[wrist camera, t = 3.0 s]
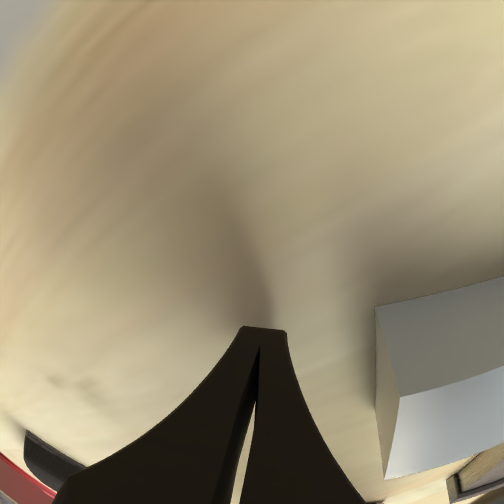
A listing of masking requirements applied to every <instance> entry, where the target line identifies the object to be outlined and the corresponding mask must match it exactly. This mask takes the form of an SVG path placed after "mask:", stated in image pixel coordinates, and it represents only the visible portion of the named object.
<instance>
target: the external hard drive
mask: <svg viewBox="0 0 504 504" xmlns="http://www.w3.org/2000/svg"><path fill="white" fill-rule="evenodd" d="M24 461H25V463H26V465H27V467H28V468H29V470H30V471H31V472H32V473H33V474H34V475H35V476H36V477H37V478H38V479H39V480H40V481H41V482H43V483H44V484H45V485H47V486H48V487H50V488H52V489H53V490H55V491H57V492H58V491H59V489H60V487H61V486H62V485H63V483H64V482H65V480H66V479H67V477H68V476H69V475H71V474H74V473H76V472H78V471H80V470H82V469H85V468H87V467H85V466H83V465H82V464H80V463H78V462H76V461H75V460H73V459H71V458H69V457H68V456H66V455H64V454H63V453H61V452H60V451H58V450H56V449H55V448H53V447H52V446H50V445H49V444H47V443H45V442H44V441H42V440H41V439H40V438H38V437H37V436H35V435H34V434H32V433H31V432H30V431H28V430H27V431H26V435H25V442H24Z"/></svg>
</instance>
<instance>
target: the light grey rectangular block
mask: <svg viewBox="0 0 504 504" xmlns="http://www.w3.org/2000/svg"><path fill="white" fill-rule="evenodd" d="M375 324H376V400H375V412H376V419H377V426H378V433H379V440H380V448H381V457H382V466H383V475H384V480H389V479H393V478H398V477H403V476H407V475H411V474H415V473H419V472H423V471H426V470H430V469H433V468H437V467H440V466H443V465H446V464H449V463H452V462H455V461H458V460H461V459H464V458H467V457H469V456H472V455H475V454H477V453H480V452H482V451H485V450H487V449H490V448H492V447H494V446H497V445H499V444H501V443H503V442H504V276H501V277H498V278H494V279H491V280H487V281H484V282H480V283H476V284H473V285H469V286H465V287H461V288H457V289H453V290H449V291H445V292H441V293H437V294H432V295H428V296H424V297H419V298H415V299H410V300H406V301H401V302H396V303H391V304H387V305H382V306H377V307H375Z"/></svg>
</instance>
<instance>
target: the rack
mask: <svg viewBox="0 0 504 504" xmlns="http://www.w3.org/2000/svg"><path fill="white" fill-rule="evenodd" d="M446 484H447V489H448V495H449V501H450V504H452V503H455V502H459V501H462V500H466V499H469V498H472V497H475V496H478V495H481V494H484V493H487V492H489V491H492V490H495V489H497V488H500V487H502V486H504V442H503V443H501V444H499V445H497V446H494V447H492V448H490V449H487V450H485V451H482V452H481V453H480V454H479V455H478V456H477V457H476V458H475V459H474V460H473V461H471V462H470V463H469V464H468V465H467V466H466V467H465V468H463V469H462V470H461V471H460V472H459V473H458V474H456V475H453V476H451V477H450V478H449V479H448V480H446Z"/></svg>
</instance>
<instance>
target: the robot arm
mask: <svg viewBox="0 0 504 504" xmlns="http://www.w3.org/2000/svg"><path fill="white" fill-rule="evenodd" d="M255 401H256V403H255ZM254 404H255V421H254V431H253V437H252V442H251V448H250V453H249V458H248V463H247V468H246V473H245V478H244V483H243V488H242V493H241V497H240V502H239V504H367V503H366V502H365V501H364V499H363V498H362V497H361V496H360V494H359V493H358V492H357V490H356V489H355V488H354V487H353V485H352V484H351V482H350V481H349V480H348V478H347V477H346V475H345V474H344V472H343V471H342V469H341V468H340V466H339V465H338V463H337V462H336V460H335V459H334V457H333V456H332V454H331V452H330V450H329V449H328V447H327V445H326V443H325V442H324V440H323V438H322V436H321V434H320V432H319V430H318V428H317V426H316V424H315V422H314V420H313V418H312V416H311V414H310V412H309V409H308V407H307V404H306V402H305V400H304V397H303V395H302V392H301V389H300V386H299V384H298V381H297V378H296V375H295V372H294V368H293V365H292V361H291V357H290V353H289V348H288V342H287V333H286V332H285V331H284V330H276V329H267V328H258V327H249V326H243V327H241V328H240V329H239V331H238V333H237V335H236V337H235V338H234V340H233V342H232V343H231V345H230V346H229V348H228V349H227V351H226V352H225V354H224V355H223V356H222V358H221V359H220V360H219V362H218V363H217V364H216V365H215V367H214V368H213V369H212V371H211V372H210V373H209V374H208V375H207V377H206V378H205V379H204V380H203V381H202V382H201V383H200V384H199V386H198V387H197V388H196V389H195V390H194V391H193V392H192V393H191V394H190V395H189V396H188V397H187V398H186V399H185V400H184V401H183V402H182V403H181V404H180V405H179V406H178V407H177V408H176V409H175V410H174V411H172V412H171V413H170V414H169V415H168V416H167V417H166V418H164V419H163V420H162V421H161V422H159V423H158V424H157V425H156V426H154V427H153V428H152V429H150V430H149V431H148V432H146V433H145V434H144V435H142V436H141V437H140V438H138V439H137V440H135V441H133V442H132V443H130V444H129V445H127V446H126V447H124V448H122V449H121V450H119V451H117V452H116V453H114V454H112V455H111V456H109V457H107V458H105V459H103V460H101V461H99V462H97V463H95V464H93V465H91V466H89V467H87V468H85V469H82V470H80V471H78V472H76V473H74V474H71V475H69V476H68V477H67V479H66V480H65V482H64V483H63V485H62V486H61V487H60V489H59V491H58V492H57V494H56V496H55V499H54V501H53V503H52V504H230V502H231V497H232V492H233V486H234V481H235V476H236V470H237V466H238V462H239V458H240V454H241V451H242V447H243V444H244V440H245V437H246V433H247V430H248V426H249V423H250V419H251V415H252V412H253V408H254ZM0 504H18V503H16V502H15V501H14V500H12V499H11V498H10V497H8V496H7V495H6V494H4V493H3V492H2V491H1V490H0ZM379 504H384V503H379Z"/></svg>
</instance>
